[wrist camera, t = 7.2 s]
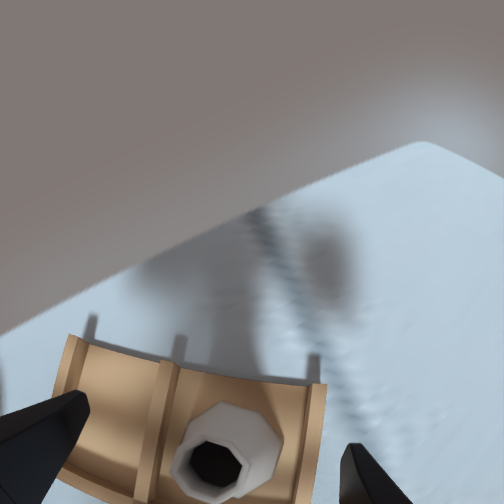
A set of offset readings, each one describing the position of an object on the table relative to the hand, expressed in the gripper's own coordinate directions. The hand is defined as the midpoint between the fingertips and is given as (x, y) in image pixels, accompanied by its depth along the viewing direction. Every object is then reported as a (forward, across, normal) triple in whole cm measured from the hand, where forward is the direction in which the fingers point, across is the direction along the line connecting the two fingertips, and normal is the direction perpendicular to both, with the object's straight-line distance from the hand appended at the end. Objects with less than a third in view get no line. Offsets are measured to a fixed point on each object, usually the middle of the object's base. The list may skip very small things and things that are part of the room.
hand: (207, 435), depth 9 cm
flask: (+8, 0, +10) cm, 13 cm away
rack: (+8, +4, +11) cm, 14 cm away
